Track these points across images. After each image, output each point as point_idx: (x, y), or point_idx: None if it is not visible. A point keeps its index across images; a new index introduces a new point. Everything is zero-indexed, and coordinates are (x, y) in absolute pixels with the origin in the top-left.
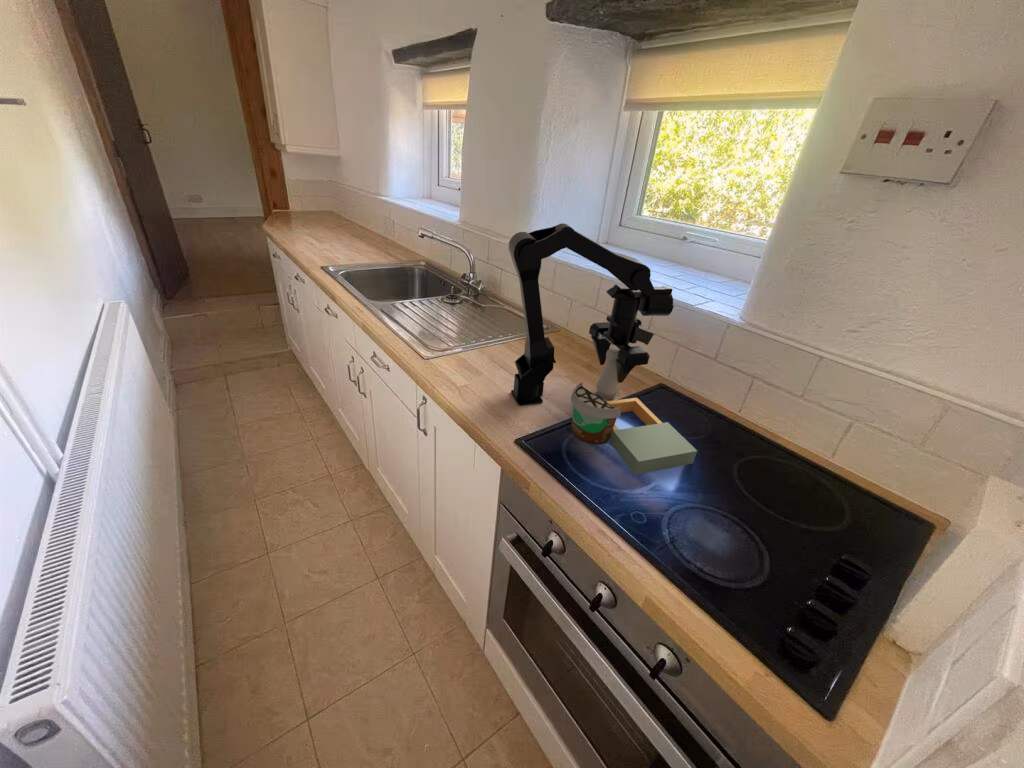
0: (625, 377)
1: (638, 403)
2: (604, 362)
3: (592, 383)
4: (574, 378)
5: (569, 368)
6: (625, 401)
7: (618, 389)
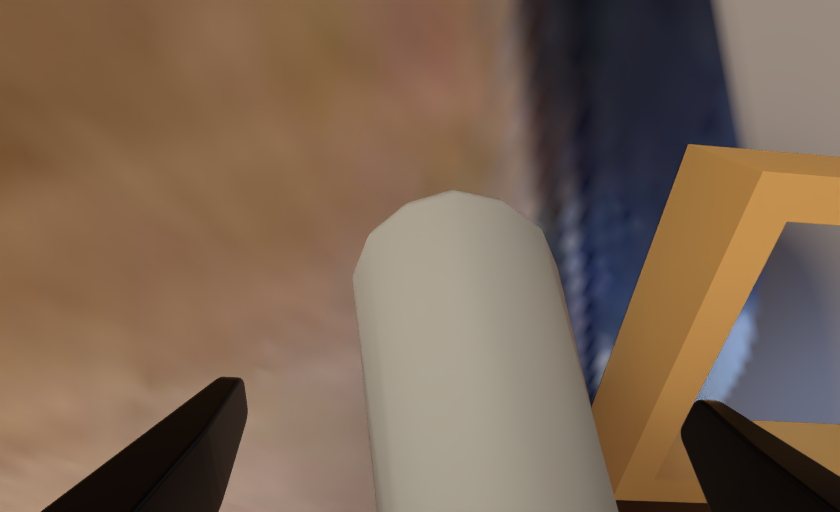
0: (819, 472)
1: (835, 220)
2: (230, 403)
3: (265, 262)
4: (179, 345)
5: (13, 314)
6: (733, 306)
7: (546, 246)
